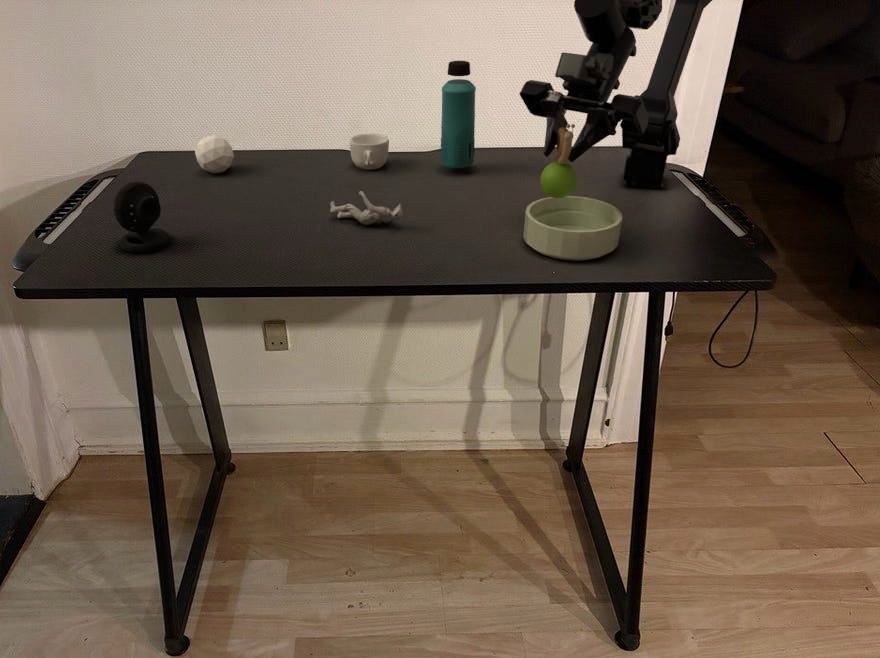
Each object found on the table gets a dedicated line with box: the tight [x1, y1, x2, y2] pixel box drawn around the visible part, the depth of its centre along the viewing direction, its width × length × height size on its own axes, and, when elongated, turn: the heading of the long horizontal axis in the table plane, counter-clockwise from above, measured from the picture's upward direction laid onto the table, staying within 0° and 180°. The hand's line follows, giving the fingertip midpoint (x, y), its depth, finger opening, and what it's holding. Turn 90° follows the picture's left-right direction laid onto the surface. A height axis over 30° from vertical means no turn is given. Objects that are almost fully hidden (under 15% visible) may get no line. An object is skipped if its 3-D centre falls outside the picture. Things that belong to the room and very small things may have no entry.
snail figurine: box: [539, 123, 578, 198], centre depth 107 cm, size 5×6×12 cm
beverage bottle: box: [440, 60, 477, 169], centre depth 136 cm, size 6×7×20 cm
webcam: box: [113, 180, 170, 254], centre depth 111 cm, size 8×8×10 cm
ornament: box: [194, 132, 235, 175], centre depth 141 cm, size 7×7×8 cm
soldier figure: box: [330, 190, 403, 226], centre depth 119 cm, size 8×5×12 cm
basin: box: [523, 195, 623, 261], centre depth 111 cm, size 14×14×5 cm
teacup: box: [349, 132, 390, 171], centre depth 142 cm, size 10×8×5 cm
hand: (557, 157), depth 105 cm, fingers closed on snail figurine, 4 cm apart
